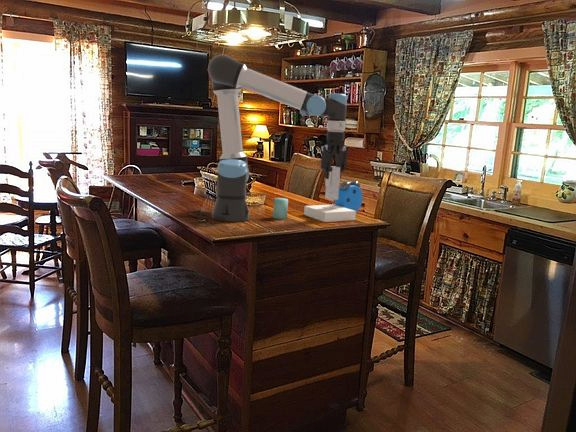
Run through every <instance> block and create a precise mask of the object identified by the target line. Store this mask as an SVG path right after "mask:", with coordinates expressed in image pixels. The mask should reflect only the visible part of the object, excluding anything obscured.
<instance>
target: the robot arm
mask: <svg viewBox="0 0 576 432" xmlns="http://www.w3.org/2000/svg"><path fill="white" fill-rule="evenodd" d="M207 72H208V75H209V78H210V79H211V86H212V87H211V88H212V92H213V93H214V95H216V99H217V108H218V119H219V128H220V140H221V149H222V154H221V155H220V157H219V162H218V163H217V168H216V170H217V175H216V176H217V180H216V181H217V182H216V200H215V203H214V205H213V208H212V212H211V218H212V219H213V220H215V221H219V222H230V223H232V222H233V223H235V222H236V223H237V222H245V221H248V220H250V212H249V211H250V210H249V208H248V204H247V199H246V198H247V197H246V195H247V182H248V181H249V178H250V169H249V165H248V164H249V163H248V155H247V154H246V153H244V149H243V140H242V139H243V138H242V129H241V117H240V109H239V108H240V106H239V93H240V92H241V91H242V89H245V90H247V91H250V92H253V93H255V94H257V95H261V96H263V97H265V98H267V99H271V100H273V101H276V102H279V103H281V104H284V105H286V106H289V107H292V108H293V109H297V110H299V114H300V115H301V116H306V117H309V116H311V117H327V127H326V130H327V132H326V143H325V145H321V146H320V147H319V148H320V151H321V153H320V155H321V156H320V157H321V158H320V160H321V161H320V169H321V170H323V171H324V179H325V185H324V186H325V187H326V186H327V187H330V184H331V171H330V167H331V166H332V164H333V159H334V156H335V166H336V167H340V178H339V184H341V181H340V180H341V178H342V172H343V171H345V170H346V169H347V161H348V159H347V158H348V153H349V149H350V147H348V146H346V145H345V144H344V141H345V134H346V133H345V131H346V120H347V119H346V117H347V106H348V105H347V104H348V102H347V101H348V97H347V94H345V93H329V95H328V97H323V96H321V95H319V94H318V95H317V94H313V93H311V92H308V91H307V90H303V89H301V88H298V87H296V86H295V85H294V86H293V85H291V84H289V83H286V82H284V81H281V80H279V79H275V78H273V77H271V76H268V75H265V74H263V73H261V72H258V71H256V70H254V69H251V68H248V67H247V66H246V64H245V63H244V62H240V61H238V60H236V59H235V58H233V57H232V56H229V55H227V54H223V53H222V54H218V55H215V56H213V57H212V58H211V60H210V61H209V63H208V66H207Z"/></svg>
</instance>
